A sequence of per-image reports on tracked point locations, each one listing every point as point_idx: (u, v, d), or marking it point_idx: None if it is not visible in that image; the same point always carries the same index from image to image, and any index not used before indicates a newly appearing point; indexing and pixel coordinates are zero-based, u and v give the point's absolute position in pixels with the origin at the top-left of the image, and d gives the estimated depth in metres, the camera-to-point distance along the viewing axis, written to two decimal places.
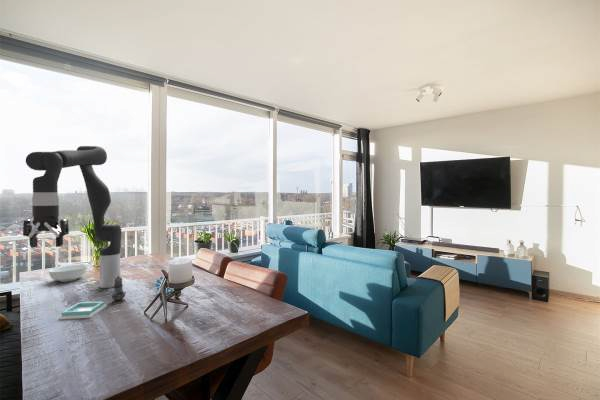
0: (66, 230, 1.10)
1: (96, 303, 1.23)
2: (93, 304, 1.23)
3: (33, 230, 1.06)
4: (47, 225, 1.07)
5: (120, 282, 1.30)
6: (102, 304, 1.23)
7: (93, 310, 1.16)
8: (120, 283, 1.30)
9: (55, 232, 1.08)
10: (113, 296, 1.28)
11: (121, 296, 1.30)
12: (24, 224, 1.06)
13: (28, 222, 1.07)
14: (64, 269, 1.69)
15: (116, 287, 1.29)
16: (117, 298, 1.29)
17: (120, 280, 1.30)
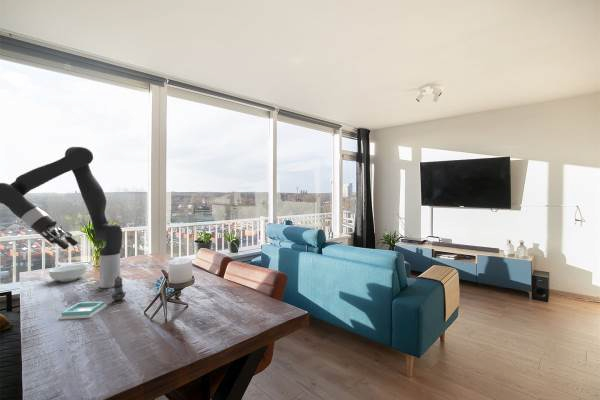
0: None
1: (96, 303, 1.23)
2: (93, 304, 1.23)
3: None
4: None
5: (120, 282, 1.30)
6: (102, 304, 1.23)
7: (93, 310, 1.16)
8: (120, 283, 1.30)
9: None
10: (113, 296, 1.28)
11: (121, 296, 1.30)
12: None
13: None
14: (64, 269, 1.69)
15: (116, 287, 1.29)
16: (117, 298, 1.29)
17: (120, 280, 1.30)
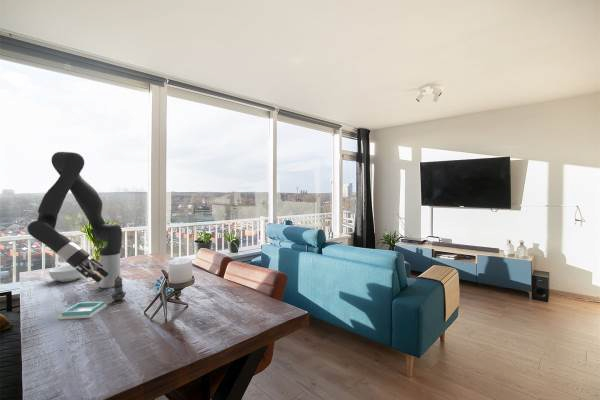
0: None
1: (96, 303, 1.23)
2: (93, 304, 1.23)
3: None
4: None
5: (120, 282, 1.30)
6: (102, 304, 1.23)
7: (93, 310, 1.16)
8: (120, 283, 1.30)
9: None
10: (113, 296, 1.28)
11: (121, 296, 1.30)
12: None
13: None
14: (64, 269, 1.69)
15: (116, 287, 1.29)
16: (117, 298, 1.29)
17: (120, 280, 1.30)
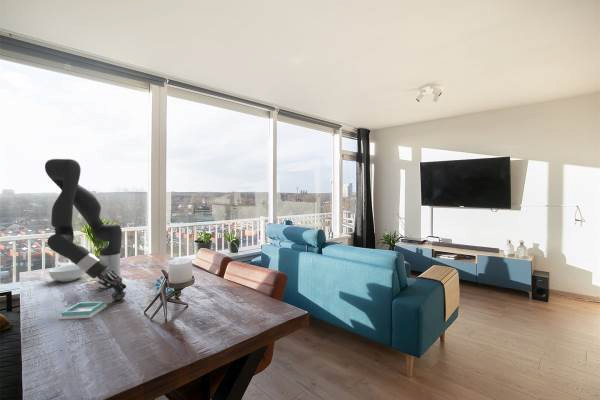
0: None
1: (96, 303, 1.23)
2: (93, 304, 1.23)
3: None
4: None
5: (120, 282, 1.30)
6: (102, 304, 1.23)
7: (93, 310, 1.16)
8: (120, 283, 1.30)
9: None
10: (113, 296, 1.28)
11: (121, 296, 1.30)
12: None
13: None
14: (64, 269, 1.69)
15: None
16: (117, 298, 1.29)
17: (120, 280, 1.30)
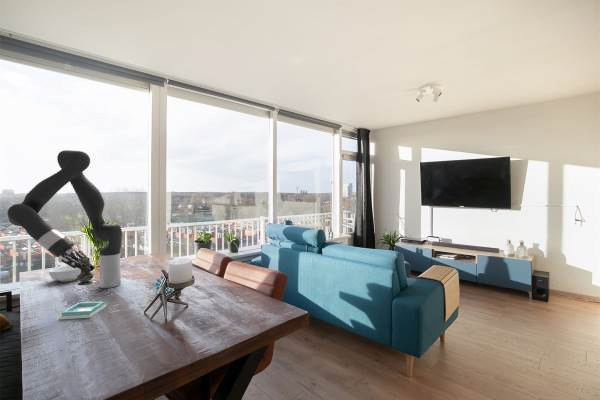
0: None
1: (96, 303, 1.23)
2: (93, 304, 1.23)
3: None
4: None
5: (87, 262, 1.18)
6: (102, 304, 1.23)
7: (93, 310, 1.16)
8: (87, 263, 1.18)
9: None
10: (79, 277, 1.16)
11: (88, 277, 1.17)
12: None
13: None
14: (64, 269, 1.69)
15: None
16: (83, 279, 1.17)
17: (87, 260, 1.18)
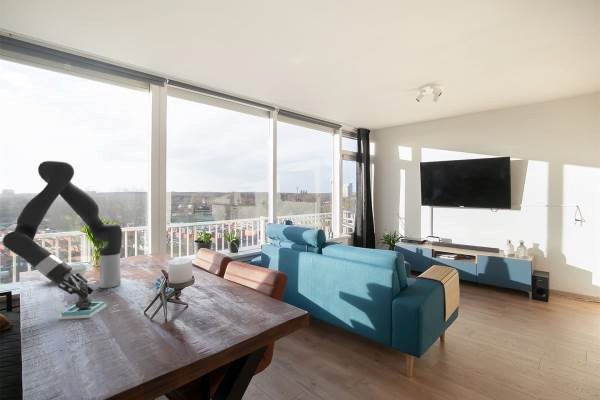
0: None
1: (96, 303, 1.23)
2: (93, 304, 1.23)
3: None
4: None
5: (85, 289, 1.18)
6: (102, 304, 1.23)
7: (93, 310, 1.16)
8: (85, 290, 1.18)
9: None
10: (77, 304, 1.16)
11: (86, 304, 1.17)
12: None
13: None
14: None
15: None
16: (81, 307, 1.16)
17: (85, 287, 1.18)
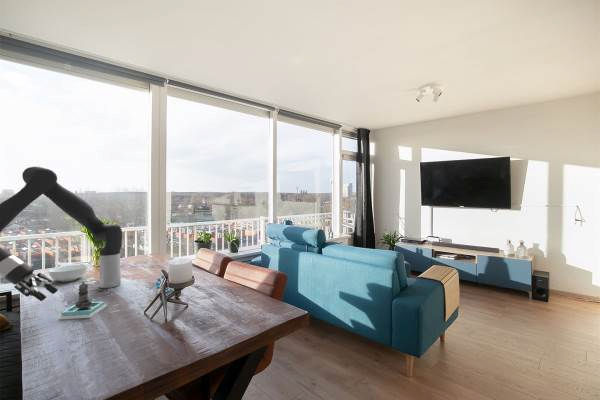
0: None
1: (96, 303, 1.23)
2: (93, 304, 1.23)
3: None
4: None
5: (85, 289, 1.18)
6: (102, 304, 1.23)
7: (93, 310, 1.16)
8: (85, 290, 1.18)
9: None
10: (77, 304, 1.16)
11: (86, 304, 1.17)
12: None
13: None
14: (64, 269, 1.69)
15: (80, 294, 1.17)
16: (81, 307, 1.16)
17: (85, 287, 1.18)
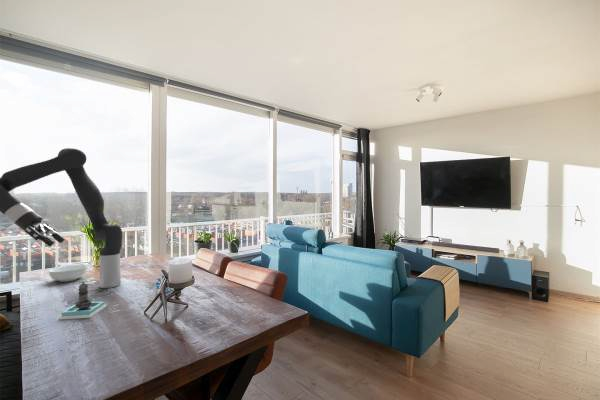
0: None
1: (96, 303, 1.23)
2: (93, 304, 1.23)
3: None
4: None
5: (85, 289, 1.18)
6: (102, 304, 1.23)
7: (93, 310, 1.16)
8: (85, 290, 1.18)
9: None
10: (77, 304, 1.16)
11: (86, 304, 1.17)
12: None
13: None
14: (64, 269, 1.69)
15: (80, 294, 1.17)
16: (81, 307, 1.16)
17: (85, 287, 1.18)
